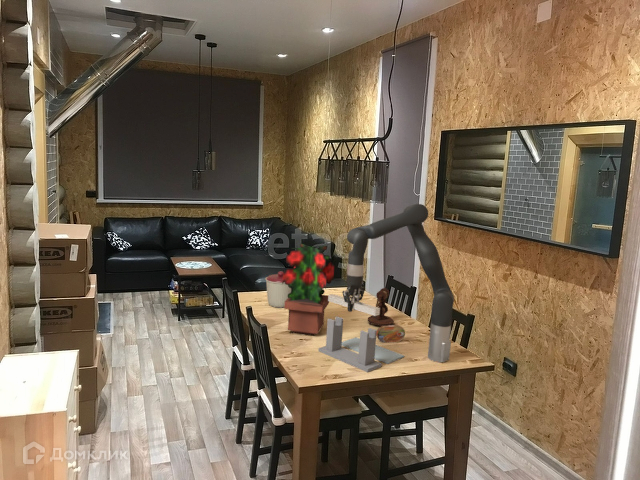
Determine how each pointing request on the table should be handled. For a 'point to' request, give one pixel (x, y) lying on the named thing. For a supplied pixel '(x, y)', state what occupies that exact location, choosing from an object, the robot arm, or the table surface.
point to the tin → (390, 333)
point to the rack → (357, 360)
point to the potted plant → (307, 288)
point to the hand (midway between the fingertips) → (352, 310)
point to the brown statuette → (381, 310)
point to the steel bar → (355, 305)
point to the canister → (277, 290)
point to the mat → (380, 352)
